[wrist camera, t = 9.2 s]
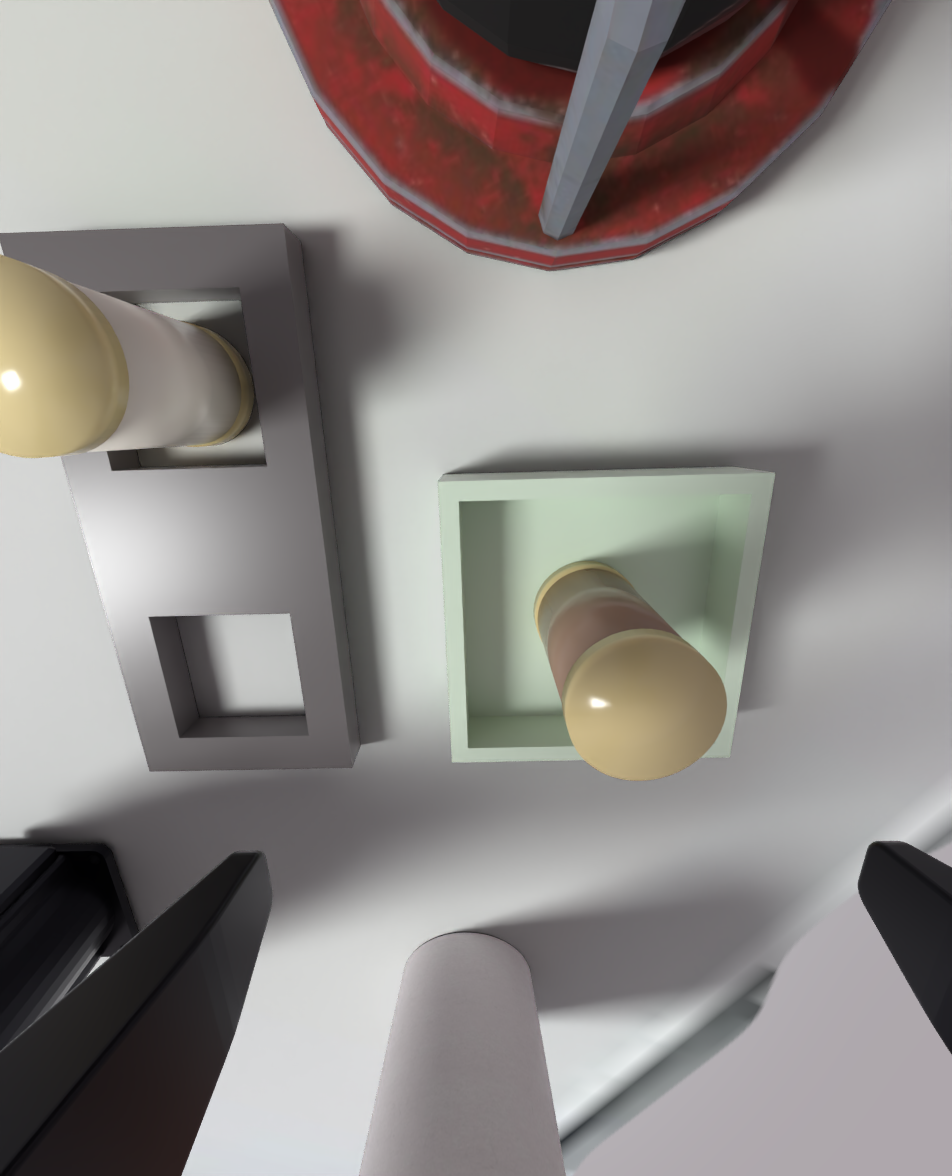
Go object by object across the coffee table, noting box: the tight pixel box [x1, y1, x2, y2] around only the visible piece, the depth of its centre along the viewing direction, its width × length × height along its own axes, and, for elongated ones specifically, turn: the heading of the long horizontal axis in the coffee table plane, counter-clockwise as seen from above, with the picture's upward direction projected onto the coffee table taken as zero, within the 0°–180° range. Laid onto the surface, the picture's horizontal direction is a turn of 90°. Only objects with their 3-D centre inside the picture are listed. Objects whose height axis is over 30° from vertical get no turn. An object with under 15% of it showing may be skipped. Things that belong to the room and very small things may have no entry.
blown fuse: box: [533, 561, 727, 781], centre depth 15 cm, size 4×4×7 cm
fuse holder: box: [0, 224, 360, 771], centre depth 17 cm, size 18×8×1 cm, turn 2°
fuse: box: [0, 255, 254, 458], centre depth 13 cm, size 4×4×7 cm
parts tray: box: [438, 466, 775, 763], centre depth 17 cm, size 10×10×2 cm
